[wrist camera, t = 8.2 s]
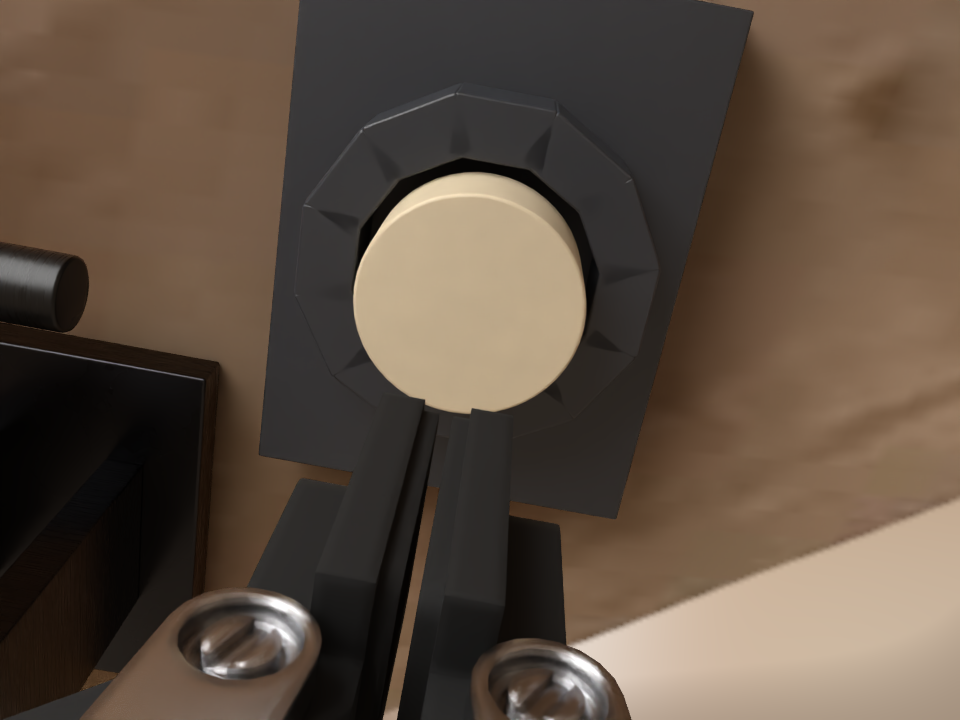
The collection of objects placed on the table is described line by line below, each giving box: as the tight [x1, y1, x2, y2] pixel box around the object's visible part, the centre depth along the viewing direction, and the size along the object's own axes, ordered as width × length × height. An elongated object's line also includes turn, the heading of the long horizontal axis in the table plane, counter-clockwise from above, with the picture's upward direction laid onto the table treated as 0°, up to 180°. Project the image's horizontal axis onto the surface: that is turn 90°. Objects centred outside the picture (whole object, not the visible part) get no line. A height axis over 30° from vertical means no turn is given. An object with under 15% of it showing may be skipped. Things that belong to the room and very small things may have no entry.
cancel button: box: [353, 172, 586, 414], centre depth 18 cm, size 4×4×2 cm
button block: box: [259, 0, 754, 519], centre depth 21 cm, size 12×9×4 cm
